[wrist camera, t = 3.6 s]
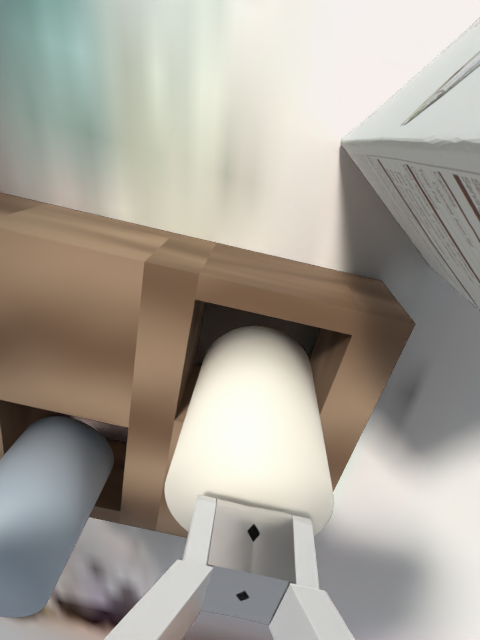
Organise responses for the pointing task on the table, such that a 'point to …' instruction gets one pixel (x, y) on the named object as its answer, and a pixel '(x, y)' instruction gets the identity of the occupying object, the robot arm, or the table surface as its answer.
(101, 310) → the tray
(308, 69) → the table surface
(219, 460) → the cream egg-shaped piece
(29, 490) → the key slate
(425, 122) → the supplement box
